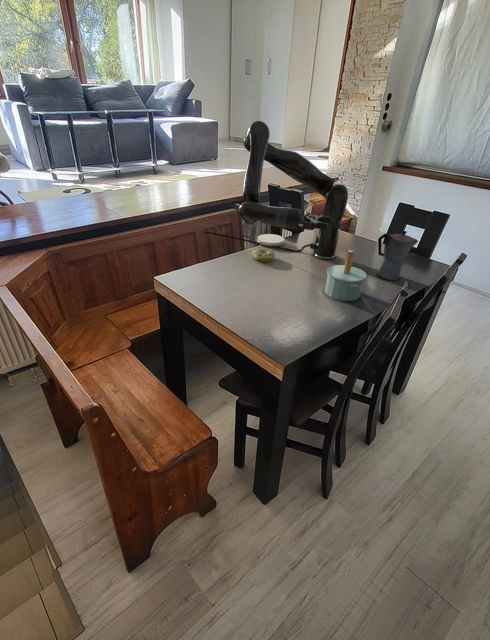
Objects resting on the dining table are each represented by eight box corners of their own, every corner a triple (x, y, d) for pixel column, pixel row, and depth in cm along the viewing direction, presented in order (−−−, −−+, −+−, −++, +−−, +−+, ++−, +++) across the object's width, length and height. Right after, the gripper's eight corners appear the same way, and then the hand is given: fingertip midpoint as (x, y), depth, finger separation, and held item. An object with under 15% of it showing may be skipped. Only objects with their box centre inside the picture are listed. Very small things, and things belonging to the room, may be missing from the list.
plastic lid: (251, 243, 189) (252, 238, 188) (267, 236, 198) (268, 232, 196) (273, 249, 182) (273, 244, 180) (288, 243, 190) (289, 238, 189)
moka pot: (408, 282, 153) (424, 235, 141) (370, 279, 155) (383, 232, 143) (403, 273, 160) (418, 228, 149) (367, 270, 163) (379, 225, 151)
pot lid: (333, 284, 132) (338, 259, 126) (321, 268, 144) (325, 244, 138) (372, 283, 133) (379, 258, 127) (356, 267, 145) (362, 244, 139)
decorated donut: (253, 263, 167) (254, 255, 164) (251, 255, 175) (251, 247, 173) (276, 263, 167) (276, 255, 165) (272, 254, 176) (272, 247, 174)
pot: (333, 305, 135) (337, 285, 130) (318, 283, 150) (321, 264, 145) (368, 304, 136) (373, 284, 131) (349, 283, 151) (354, 264, 146)
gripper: (292, 223, 149) (331, 228, 144) (281, 232, 139) (323, 238, 133) (294, 204, 145) (334, 208, 139) (283, 212, 134) (327, 218, 129)
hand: (329, 223), depth 136 cm, fingers open, 8 cm apart
